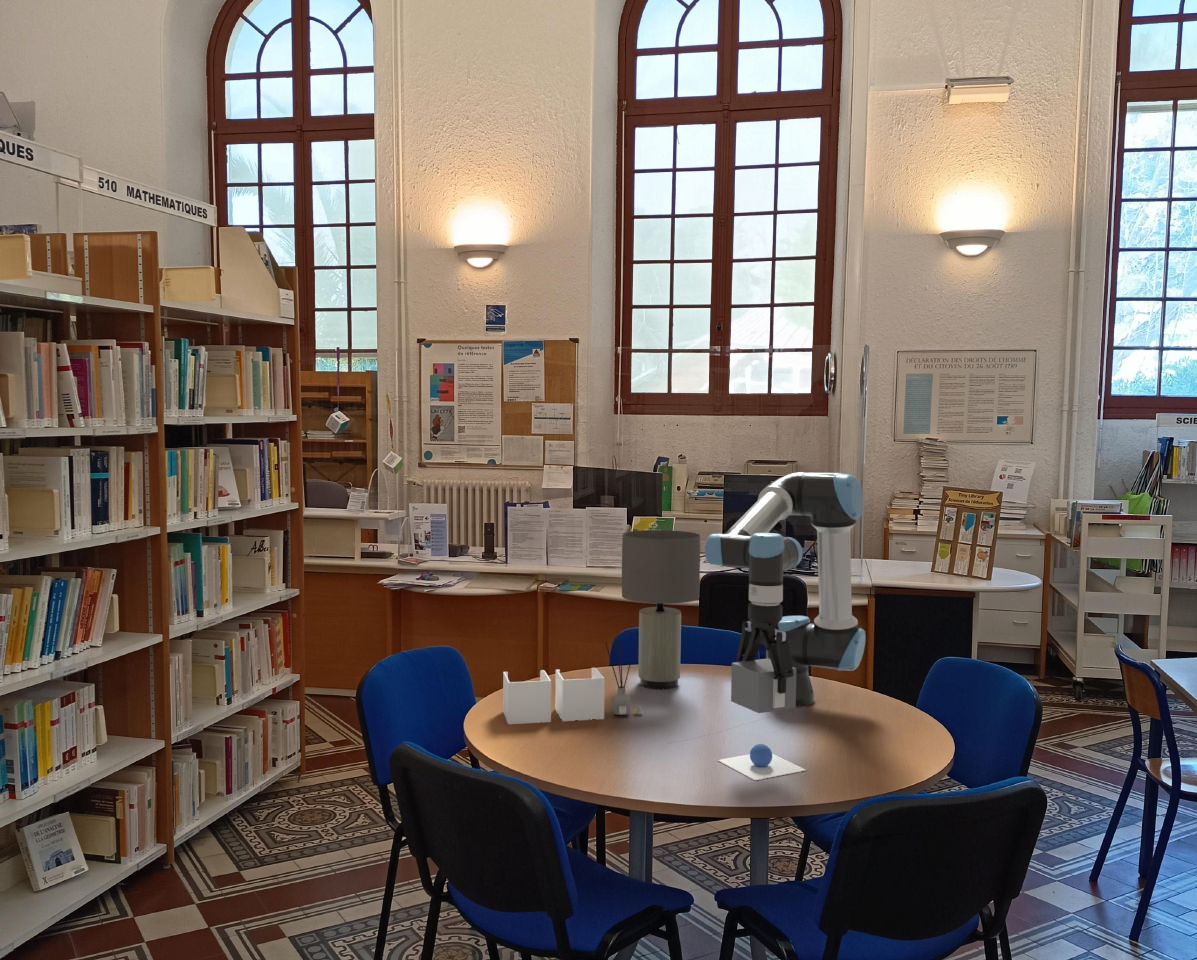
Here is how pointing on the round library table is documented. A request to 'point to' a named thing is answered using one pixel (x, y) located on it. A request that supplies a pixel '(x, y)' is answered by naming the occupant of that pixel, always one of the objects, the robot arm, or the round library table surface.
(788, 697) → the block
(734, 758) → the white flat square plate
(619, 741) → the round library table surface
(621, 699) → the reed diffuser
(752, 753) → the ball
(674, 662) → the lamp
